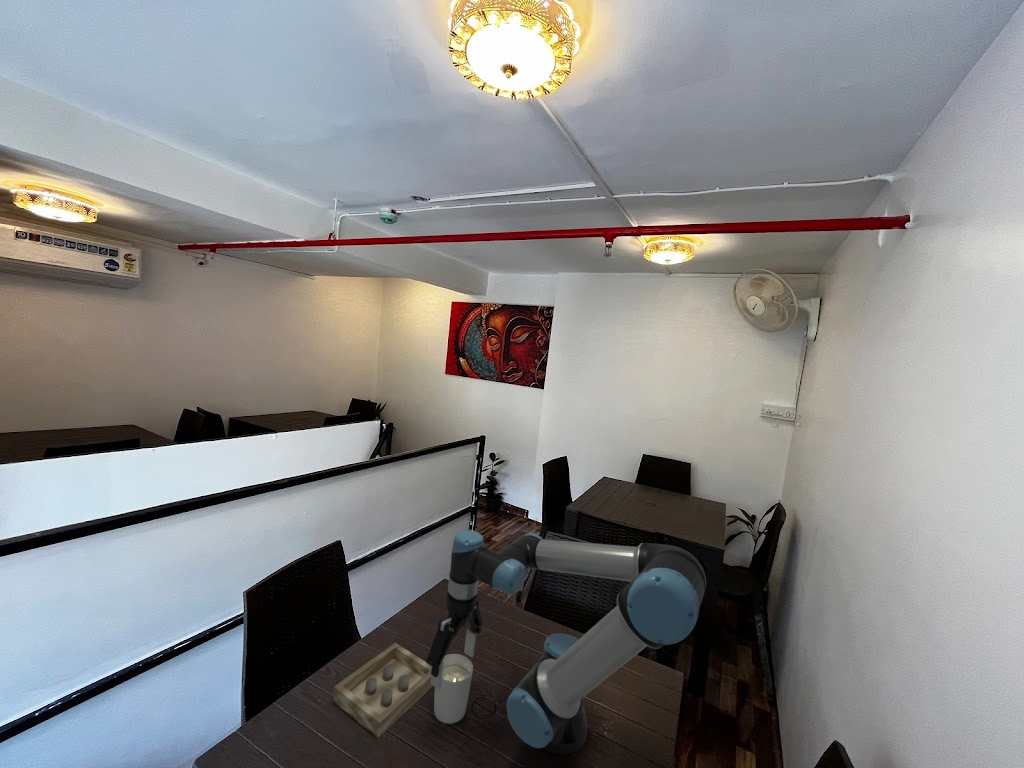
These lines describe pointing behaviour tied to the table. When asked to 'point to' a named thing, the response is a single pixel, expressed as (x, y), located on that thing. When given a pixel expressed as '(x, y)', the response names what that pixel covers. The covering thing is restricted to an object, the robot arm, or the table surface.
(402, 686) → the peg frame
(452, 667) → the candle holder
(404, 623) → the table surface
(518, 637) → the table surface
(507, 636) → the table surface
